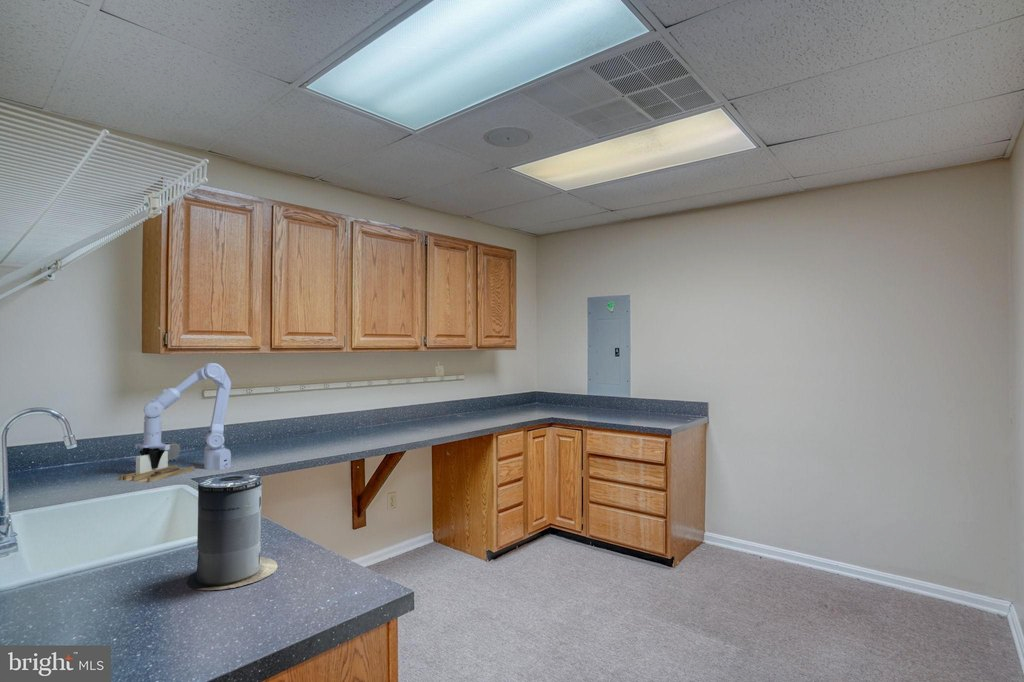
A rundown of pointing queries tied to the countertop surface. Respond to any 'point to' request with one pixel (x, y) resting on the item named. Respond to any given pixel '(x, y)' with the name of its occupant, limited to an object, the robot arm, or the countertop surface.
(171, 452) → the grey curved slab
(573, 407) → the countertop surface
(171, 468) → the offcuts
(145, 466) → the white rectangular block
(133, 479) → the rack
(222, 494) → the trash can
